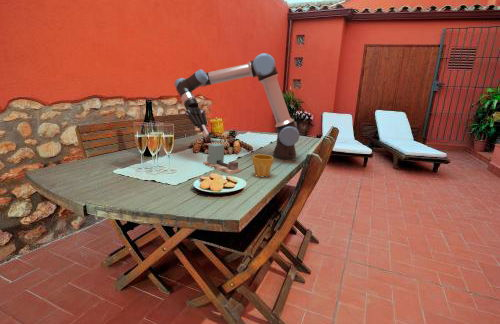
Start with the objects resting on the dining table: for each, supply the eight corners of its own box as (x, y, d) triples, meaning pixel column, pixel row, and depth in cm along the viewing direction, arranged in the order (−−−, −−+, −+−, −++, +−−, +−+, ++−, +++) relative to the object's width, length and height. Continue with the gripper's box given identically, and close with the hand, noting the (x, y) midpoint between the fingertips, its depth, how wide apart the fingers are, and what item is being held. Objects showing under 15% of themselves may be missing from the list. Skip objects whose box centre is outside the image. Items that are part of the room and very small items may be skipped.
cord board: (203, 164, 156) (203, 155, 154) (214, 162, 161) (214, 153, 160) (229, 174, 141) (230, 164, 140) (241, 171, 147) (241, 162, 145)
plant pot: (247, 175, 140) (248, 156, 138) (257, 171, 149) (258, 153, 147) (266, 180, 136) (268, 160, 133) (275, 175, 145) (276, 156, 142)
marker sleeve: (208, 162, 153) (208, 144, 151) (217, 160, 158) (218, 143, 156) (213, 164, 150) (214, 146, 148) (223, 162, 155) (224, 145, 152)
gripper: (196, 106, 169) (212, 138, 163) (177, 106, 160) (193, 140, 153) (202, 98, 165) (219, 131, 158) (182, 97, 155) (200, 132, 149)
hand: (206, 135), depth 156 cm, fingers closed
